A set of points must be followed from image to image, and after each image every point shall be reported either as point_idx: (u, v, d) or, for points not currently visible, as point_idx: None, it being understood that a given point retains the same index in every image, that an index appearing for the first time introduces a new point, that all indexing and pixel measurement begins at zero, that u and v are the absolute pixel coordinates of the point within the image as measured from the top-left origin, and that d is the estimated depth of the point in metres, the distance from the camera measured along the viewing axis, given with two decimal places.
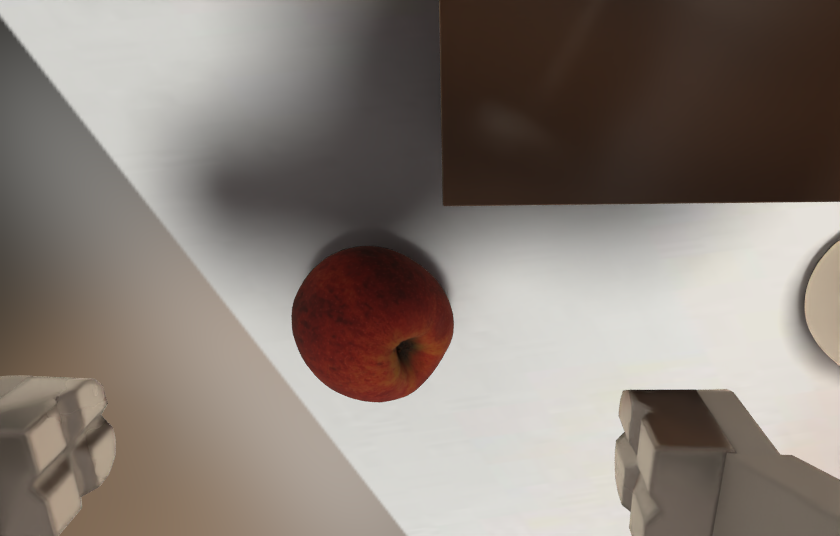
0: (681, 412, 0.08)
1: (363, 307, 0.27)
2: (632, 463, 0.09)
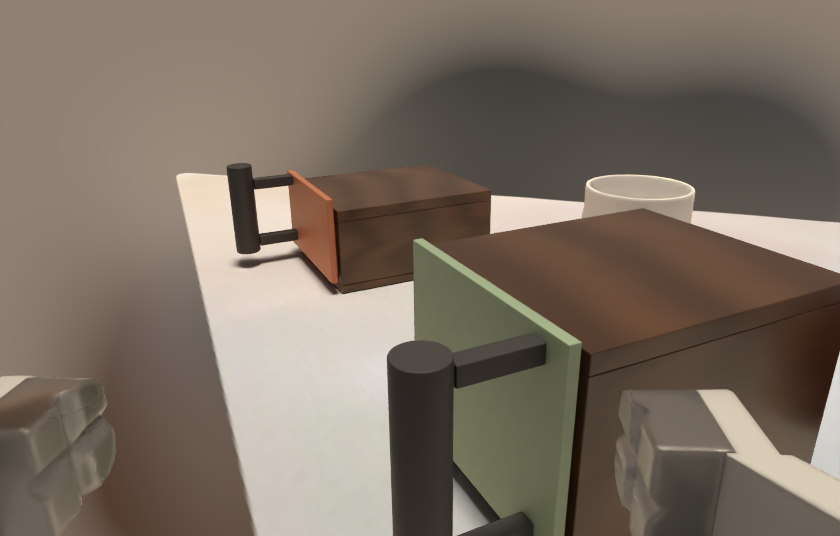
0: (681, 412, 0.08)
1: None
2: (632, 463, 0.09)
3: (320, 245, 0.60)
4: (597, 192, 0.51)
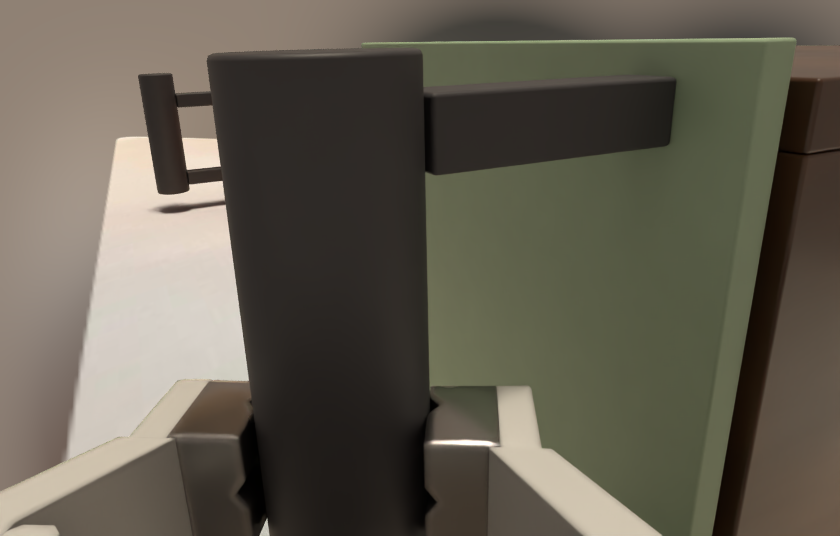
0: (469, 407, 0.09)
1: None
2: None
3: None
4: None
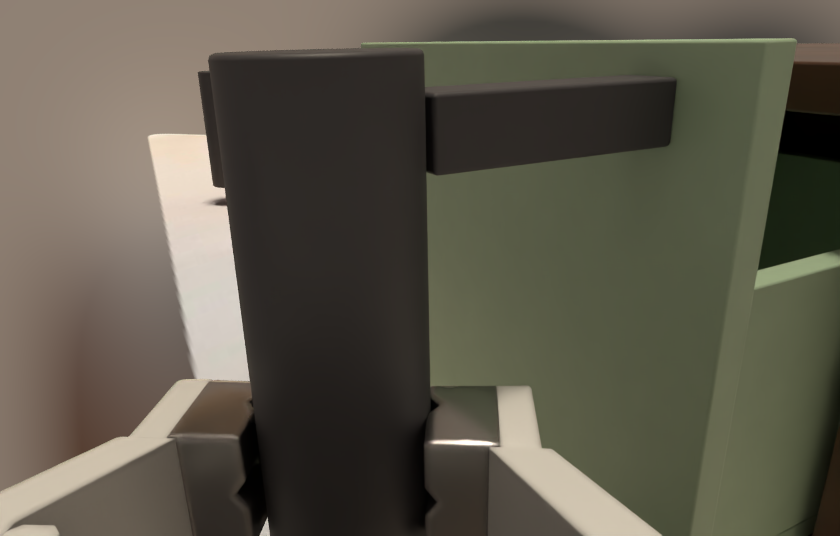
0: (469, 407, 0.09)
1: None
2: None
3: None
4: None
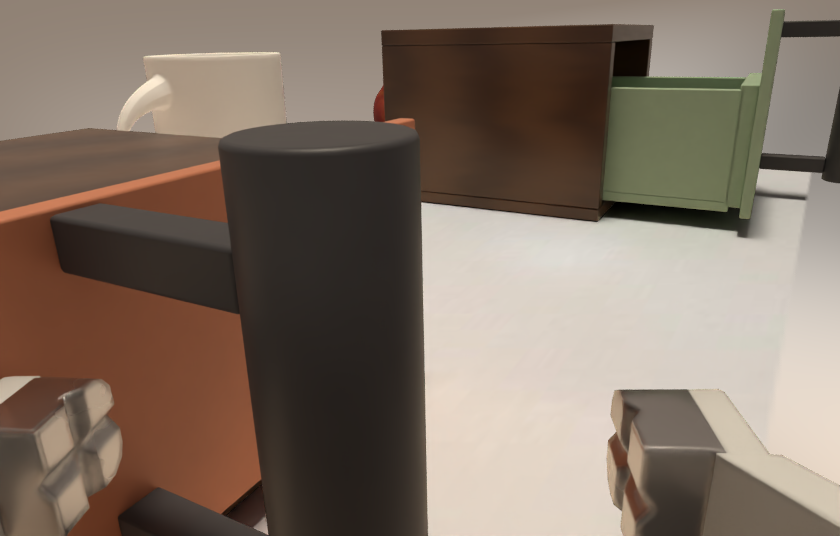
0: (672, 412, 0.08)
1: None
2: (624, 463, 0.09)
3: None
4: (262, 55, 0.39)
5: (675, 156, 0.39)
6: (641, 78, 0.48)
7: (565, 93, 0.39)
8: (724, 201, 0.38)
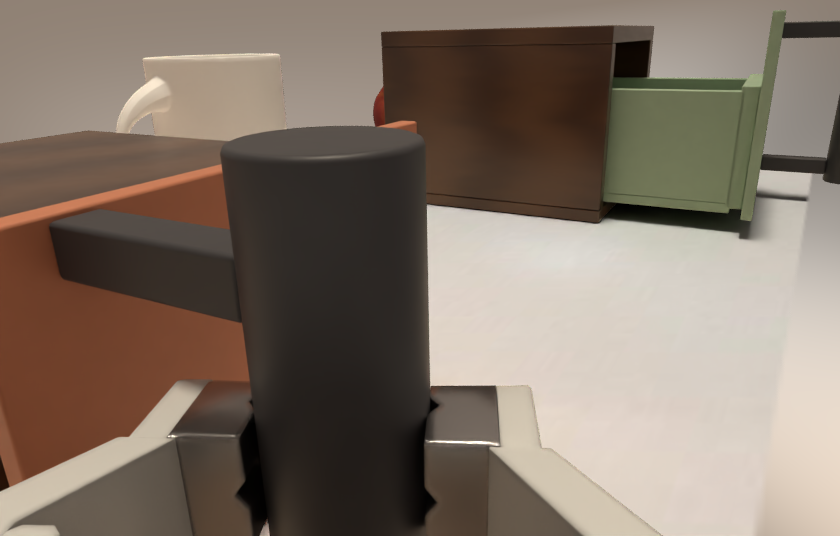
0: (469, 408, 0.09)
1: None
2: None
3: None
4: (262, 56, 0.39)
5: (676, 157, 0.39)
6: (641, 79, 0.48)
7: (565, 95, 0.39)
8: (725, 202, 0.38)
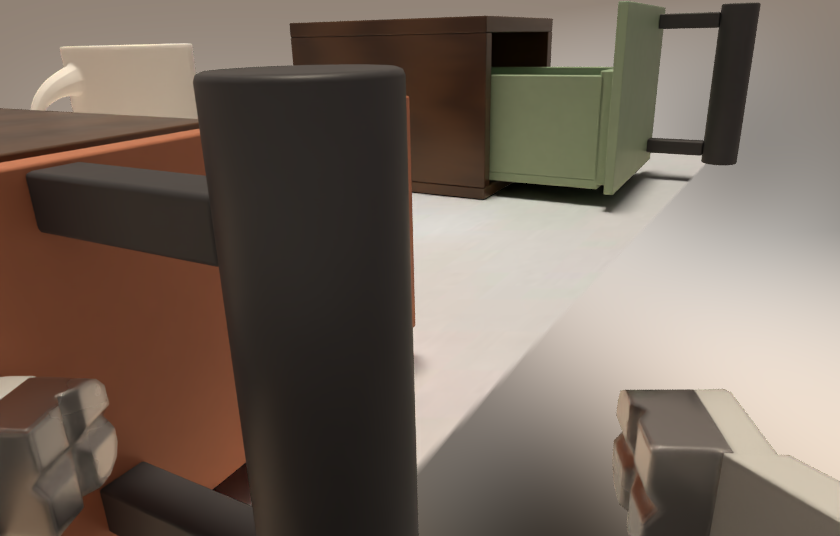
0: (678, 412, 0.08)
1: None
2: (630, 463, 0.09)
3: None
4: (169, 45, 0.42)
5: (550, 138, 0.42)
6: (540, 68, 0.51)
7: (449, 80, 0.43)
8: (593, 179, 0.42)
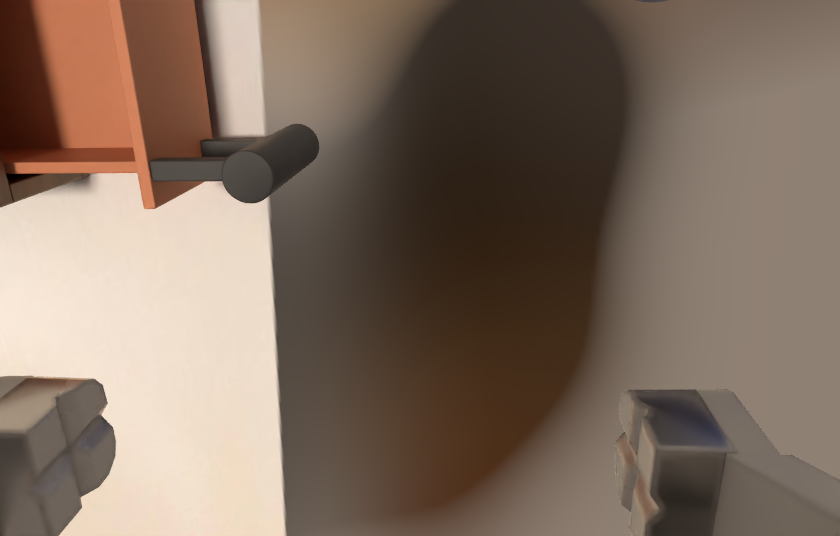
0: (681, 412, 0.08)
1: None
2: (632, 463, 0.09)
3: None
4: None
5: None
6: None
7: None
8: None
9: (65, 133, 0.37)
